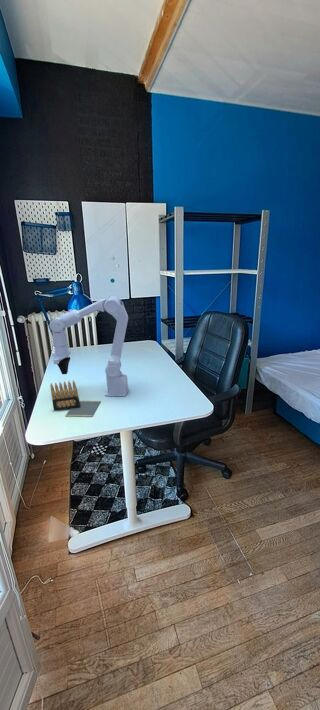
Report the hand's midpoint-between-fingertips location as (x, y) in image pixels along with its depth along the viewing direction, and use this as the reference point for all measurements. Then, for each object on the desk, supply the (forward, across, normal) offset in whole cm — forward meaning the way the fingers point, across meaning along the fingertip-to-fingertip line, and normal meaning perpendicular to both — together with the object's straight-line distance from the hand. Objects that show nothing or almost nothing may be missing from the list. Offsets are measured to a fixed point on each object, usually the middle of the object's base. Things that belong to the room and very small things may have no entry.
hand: (64, 373), depth 134 cm
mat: (+10, +14, +12) cm, 21 cm away
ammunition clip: (+10, +14, +5) cm, 18 cm away
